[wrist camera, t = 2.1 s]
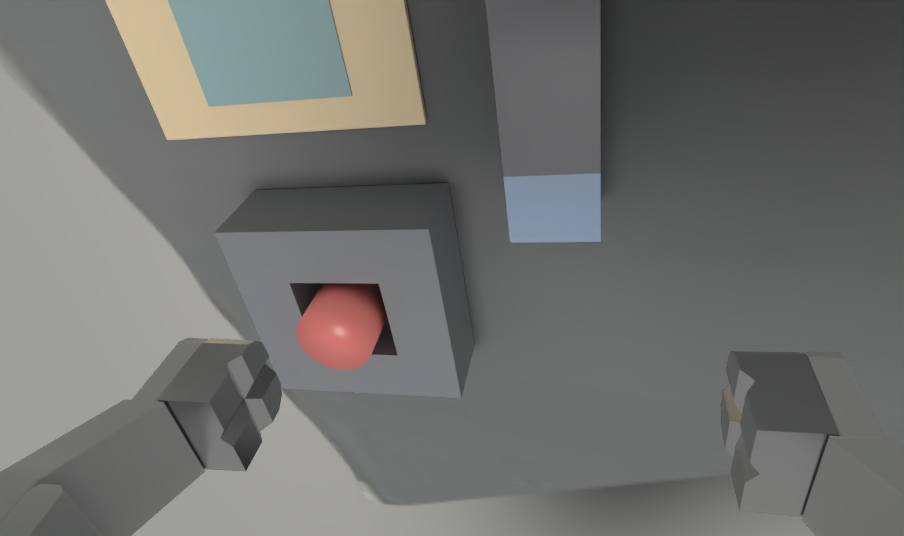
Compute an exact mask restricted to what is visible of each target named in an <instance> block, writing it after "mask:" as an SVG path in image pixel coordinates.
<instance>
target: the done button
mask: <svg viewBox="0 0 904 536" xmlns="http://www.w3.org/2000/svg"><path fill="white" fill-rule="evenodd" d="M386 320H387V313H386V309H385V306H384V302H383V298H382V294H381V291H380V287H379V284H365V283H322V285H321V286H320V288H319V290H318V291H317V293H316V295H315V296H314V298H313V300H312V301H311V303H310V304H309V306H308V308H307V309H306V311H305V313H304V314H303V316H302V318H301V319H300V321H299V323H298V325H297V328H296V335H297V339H298V342H299V344H300V346H301V347H302V349H303V350H304V351H305V352H306V353H307V354H308V355H309V356H310V357H311V358H313V359H314V360H315V361H317V362H319V363H320V364H323V365H325V366H327V367H330V368H334V369H339V370H351V369H356V368H359V367H361V366H363V365H364V364H365V363H366V362H367V361H368V360H369V358H370V357H371V354H372V352H373V350H374V347H375V345H376V343H377V340H378V338H379V336H380V334H381V331H382V329H383V327H384V324H385V322H386Z"/></svg>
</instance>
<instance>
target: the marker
mask: <svg viewBox="0 0 904 536" xmlns="http://www.w3.org/2000/svg"><path fill="white" fill-rule="evenodd" d="M485 4H486V14H487V24H488V33H489V43H490V53H491V62H492V72H493V82H494V91H495V101H496V111H497V120H498V130H499V139H500V149H501V159H502V168H503V178H504V188H505V197H506V207H507V217H508V226H509V236H510V243H524V242H601V0H485Z"/></svg>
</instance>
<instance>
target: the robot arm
mask: <svg viewBox="0 0 904 536" xmlns="http://www.w3.org/2000/svg"><path fill="white" fill-rule="evenodd" d="M268 358H269V355H268V353H267V351H266V348H265V346H264V344H263V343H261V342H258V341H252V340H230V339H199V338H187V339H184V340H182V341H180V342H179V343H178V344H177V345H176V346H175V348H174V349H173V350H172V351H171V353H170V354H169V355H168V356H167V357H166V358H165V360H164V361H163V362H162V363H161V365H160V366H159V367H158V368H157V369H156V371H155V372H154V373H153V375H152V376H151V377H150V378H149V379H148V380H147V382H146V383H145V384H144V385H143V387H142V388H141V389H140V390H139V391H138V393H137V394H136V395H135V396H134V398H133V399H132V400H123V401H121V402H120V403H118V404H117V405H115V406H113V407H111V408H109V409H108V410H106V411H104V412H103V413H101V414H99V415H97V416H96V417H94V418H92V419H90V420H89V421H87V422H85V423H84V424H82V425H80V426H78V427H77V428H75V429H73V430H71V431H70V432H68V433H66V434H65V435H63V436H61V437H59V438H58V439H56V440H54V441H53V442H51V443H49V444H47V445H46V446H44V447H42V448H40V449H39V450H37V451H35V452H34V453H32V454H30V455H29V456H27V457H25V458H23V459H22V460H20V461H18V462H16V463H15V464H13V465H11V466H10V467H8V468H6V469H4V470H3V471H1V472H0V536H131V535H132V534H133V533H135V532H136V531H137V530H138V529H139V528H140V527H142V526H143V525H144V524H145V523H146V522H147V521H148V520H149V519H150V518H152V517H153V516H154V515H155V514H157V513H158V512H159V511H160V510H161V509H162V508H163V507H165V506H166V505H167V504H168V503H169V502H170V501H172V500H173V499H174V498H175V497H176V496H177V495H179V494H180V493H181V492H182V491H183V490H184V489H185V488H186V487H188V486H189V485H190V484H191V483H192V482H194V481H195V480H196V479H197V478H198V477H199V476H200V475H202V474H203V473H204V472H205V470H204V469H212V470H232V471H246V470H247V468H248V466H249V465H250V463H251V461H252V459H253V457H254V456H255V454H256V452H257V450H258V448H259V446H260V445H261V443H262V438H261V433H260V431H261V430H263V429H264V428H265V427H267V426H268V425H269V424H271V423H272V422H273V420H274V419H275V417H276V415H277V413H278V411H279V407H280V401H281V396H282V391H281V383H280V381H279V378H278V376H277V373H276V372H274V371H273V370H272V369H271V368H269V367H268V366H267V365H266V362H267V360H268ZM726 371H727V375H728V379H729V385H728V386H727V387H725V388H724V389H723V392H722V400H721V426H722V434H723V439H724V444H725V448H726V449H727V450H728V451H729V452H730V453H731V454H732V455H733V456H734V457H733V462H732V468H731V476H732V481H733V485H734V489H735V493H736V498H737V502H738V507H739V510H740V511H749V512H759V513H769V514H777V515H787V516H797V517H802V521H803V522H804V523H805V524H806V525H807V527H808V528H809V529H810V530H811V531H812V532H813V533H814V534H815V536H904V443H902V442H901V441H900V440H898V439H886V438H885V436H884V434H883V432H882V430H881V428H880V426H879V424H878V422H877V420H876V418H875V416H874V414H873V412H872V410H871V408H870V406H869V404H868V402H867V400H866V398H865V396H864V394H863V392H862V390H861V388H860V386H859V384H858V382H857V380H856V378H855V376H854V374H853V372H852V370H851V368H850V366H849V364H848V362H847V360H846V358H845V356H843V355H842V354H841V353H839V352H802V353H799V352H744V351H731V353H730V355H729V357H728V362H727V367H726Z"/></svg>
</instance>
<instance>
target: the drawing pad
mask: <svg viewBox="0 0 904 536" xmlns="http://www.w3.org/2000/svg"><path fill="white" fill-rule="evenodd" d="M106 2H107V5H108V7H109V9H110V12H111V14H112V16H113V18H114V21H115V23H116V25H117V27H118V30H119V32H120V34H121V36H122V39H123V41H124V43H125V45H126V48H127V50H128V52H129V54H130V57H131V59H132V61H133V64H134V66H135V68H136V70H137V73H138V75H139V77H140V79H141V82H142V84H143V86H144V88H145V91H146V93H147V95H148V97H149V100H150V102H151V104H152V106H153V109H154V111H155V113H156V116H157V118H158V120H159V122H160V125H161V127H162V129H163V131H164V134H165V136H166V138H167V140H178V139H194V138H210V137H227V136H243V135H260V134H276V133H292V132H309V131H325V130H342V129H358V128H374V127H391V126H407V125H423V124H426V123H427V117H426V111H425V106H424V100H423V94H422V88H421V83H420V77H419V71H418V65H417V60H416V54H415V48H414V43H413V37H412V31H411V25H410V20H409V14H408V8H407V2H406V0H106Z"/></svg>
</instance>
